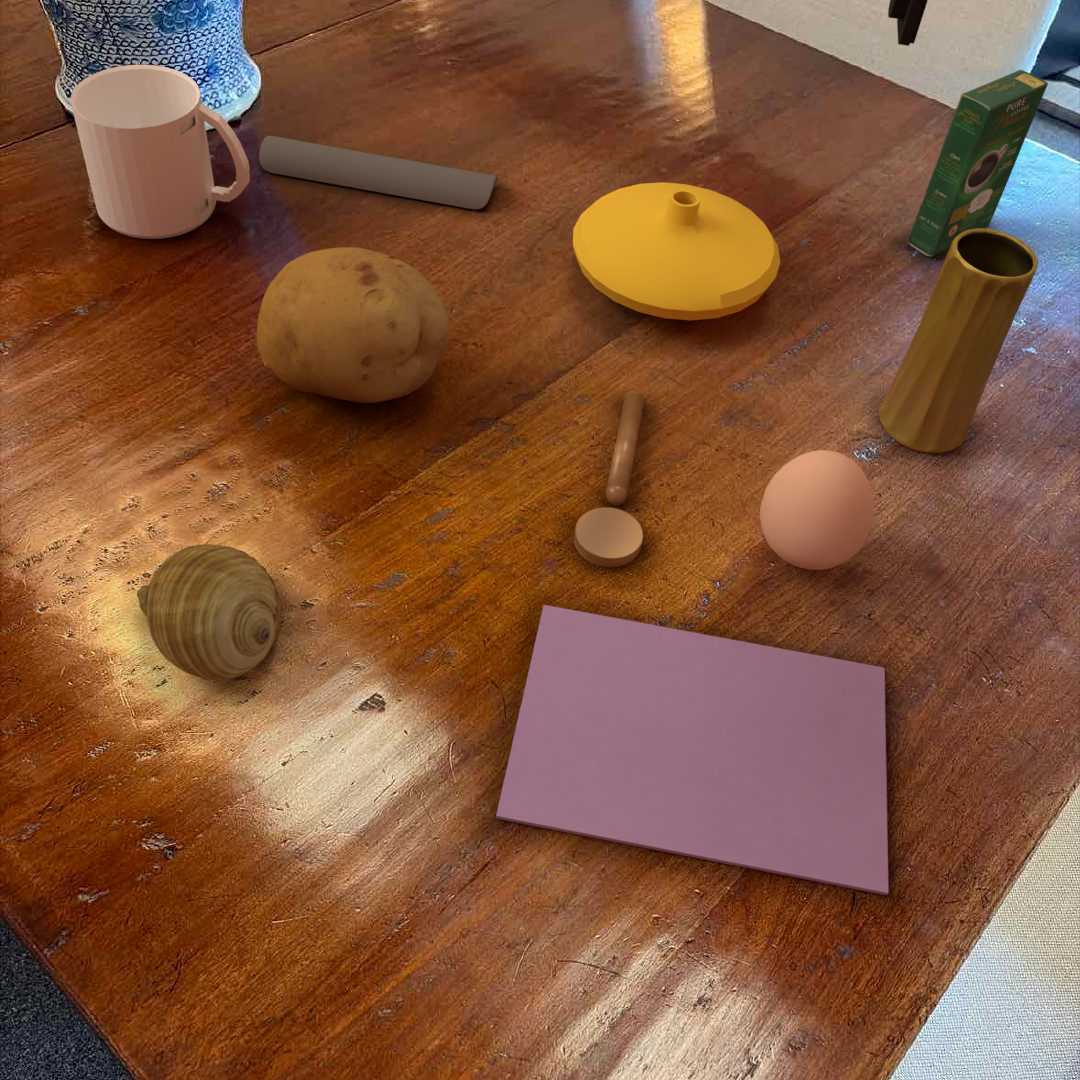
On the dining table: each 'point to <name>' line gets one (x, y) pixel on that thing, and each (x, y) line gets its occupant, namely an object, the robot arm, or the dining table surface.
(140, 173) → the mug
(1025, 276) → the vase
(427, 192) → the half round rod
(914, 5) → the robot arm
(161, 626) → the seashell
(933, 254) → the coffee box
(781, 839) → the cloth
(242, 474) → the dining table surface
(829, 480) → the egg
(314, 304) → the potato
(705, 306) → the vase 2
